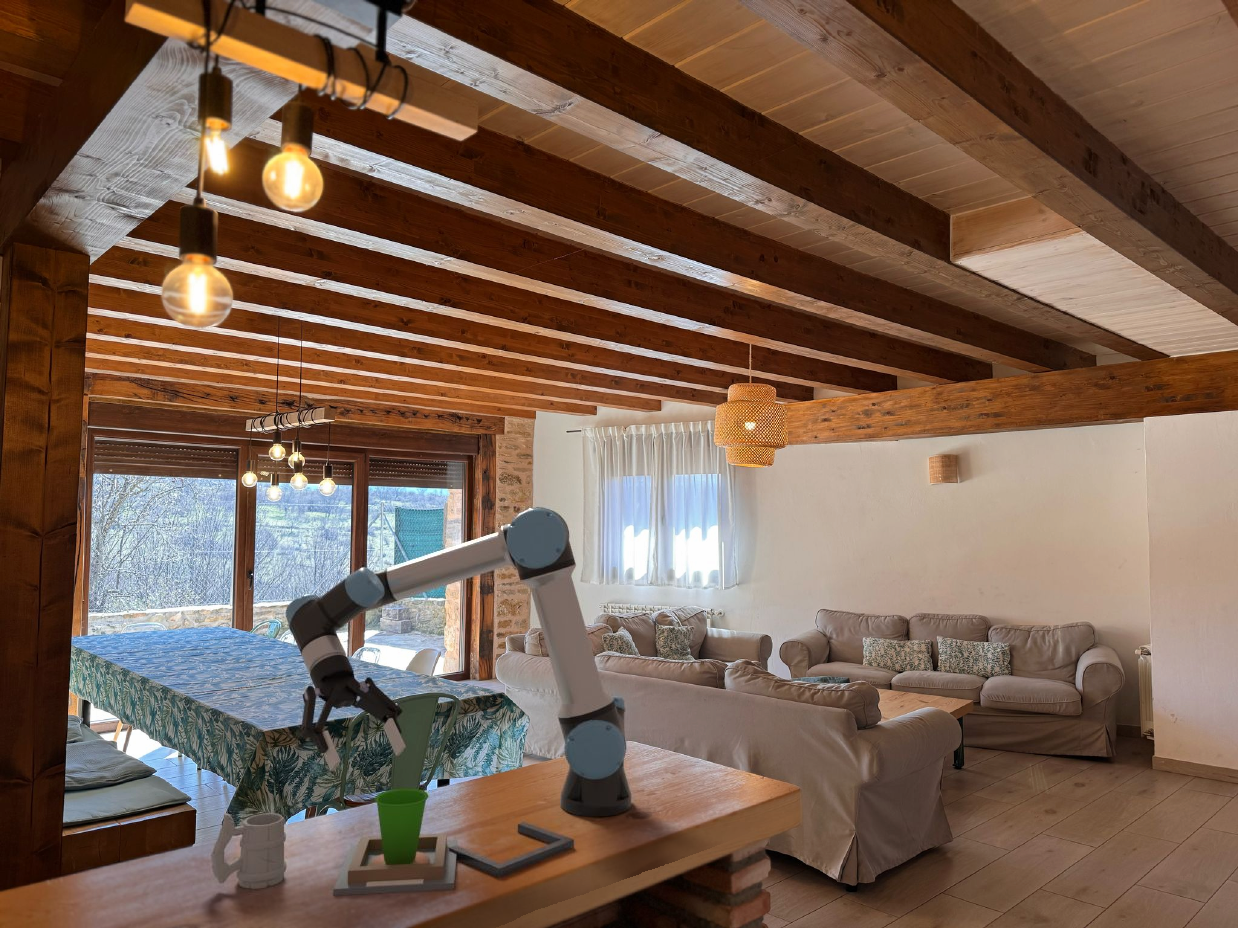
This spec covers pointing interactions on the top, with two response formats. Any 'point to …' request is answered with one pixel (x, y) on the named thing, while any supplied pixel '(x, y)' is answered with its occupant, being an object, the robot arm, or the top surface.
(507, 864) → the dark grey u frame
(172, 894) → the top surface
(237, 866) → the mug
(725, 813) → the top surface
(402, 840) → the cup
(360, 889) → the socket board
